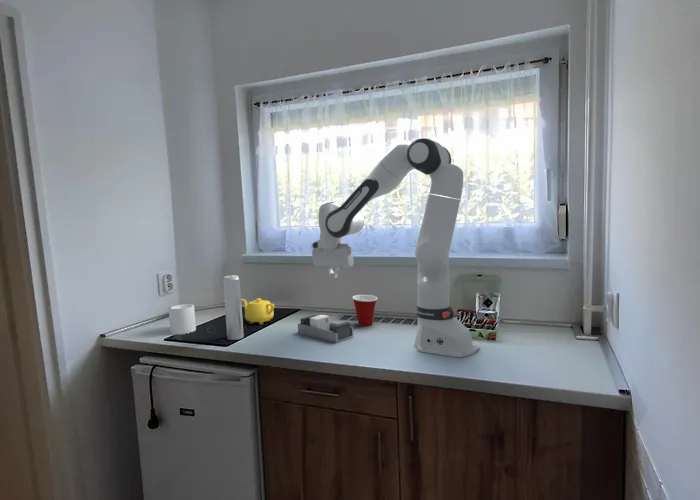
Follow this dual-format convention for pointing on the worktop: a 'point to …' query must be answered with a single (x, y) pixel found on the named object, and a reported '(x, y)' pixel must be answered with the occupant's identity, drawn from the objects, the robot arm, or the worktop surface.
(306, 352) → the worktop surface
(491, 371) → the worktop surface
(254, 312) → the teapot
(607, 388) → the worktop surface
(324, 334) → the grey rectangular tray
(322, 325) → the block
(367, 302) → the plastic cup
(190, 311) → the mug
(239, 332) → the silver cylinder
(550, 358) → the worktop surface
